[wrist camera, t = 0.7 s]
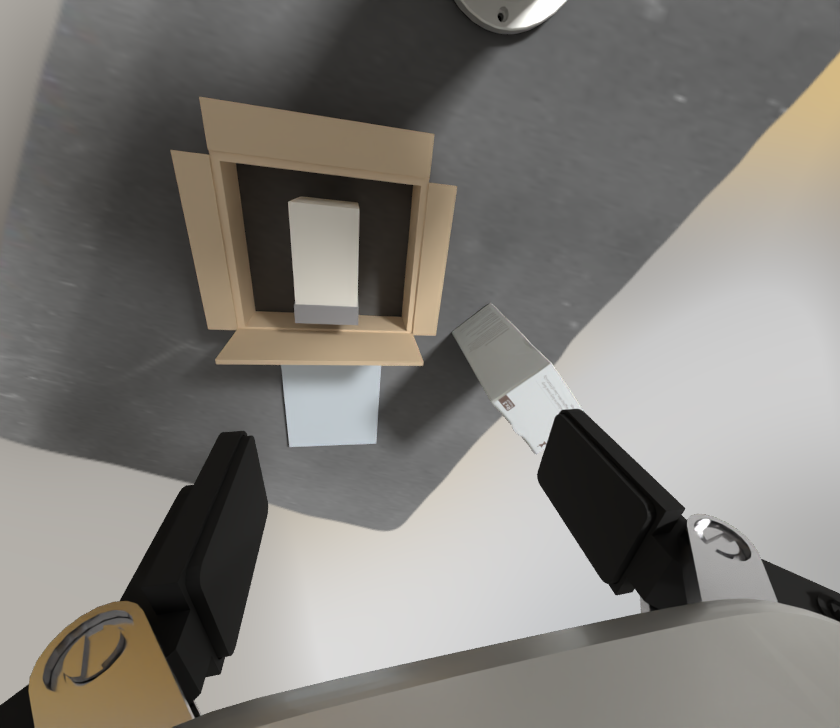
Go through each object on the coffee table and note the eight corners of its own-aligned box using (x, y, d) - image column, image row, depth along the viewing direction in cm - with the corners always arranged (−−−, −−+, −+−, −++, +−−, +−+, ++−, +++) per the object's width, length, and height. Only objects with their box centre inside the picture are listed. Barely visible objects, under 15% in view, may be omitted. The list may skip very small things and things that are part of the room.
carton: (185, 102, 25) (100, 64, 17) (450, 143, 30) (490, 130, 21) (224, 315, 33) (180, 364, 25) (427, 322, 38) (449, 366, 29)
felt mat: (281, 354, 36) (280, 357, 36) (381, 356, 39) (381, 358, 38) (290, 444, 43) (289, 447, 42) (375, 440, 45) (376, 443, 45)
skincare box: (521, 346, 42) (596, 421, 29) (482, 375, 43) (538, 459, 30) (487, 298, 38) (557, 361, 25) (445, 331, 39) (492, 407, 26)
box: (299, 196, 30) (286, 201, 23) (358, 202, 31) (360, 209, 24) (305, 296, 34) (295, 323, 28) (357, 298, 35) (358, 325, 29)
